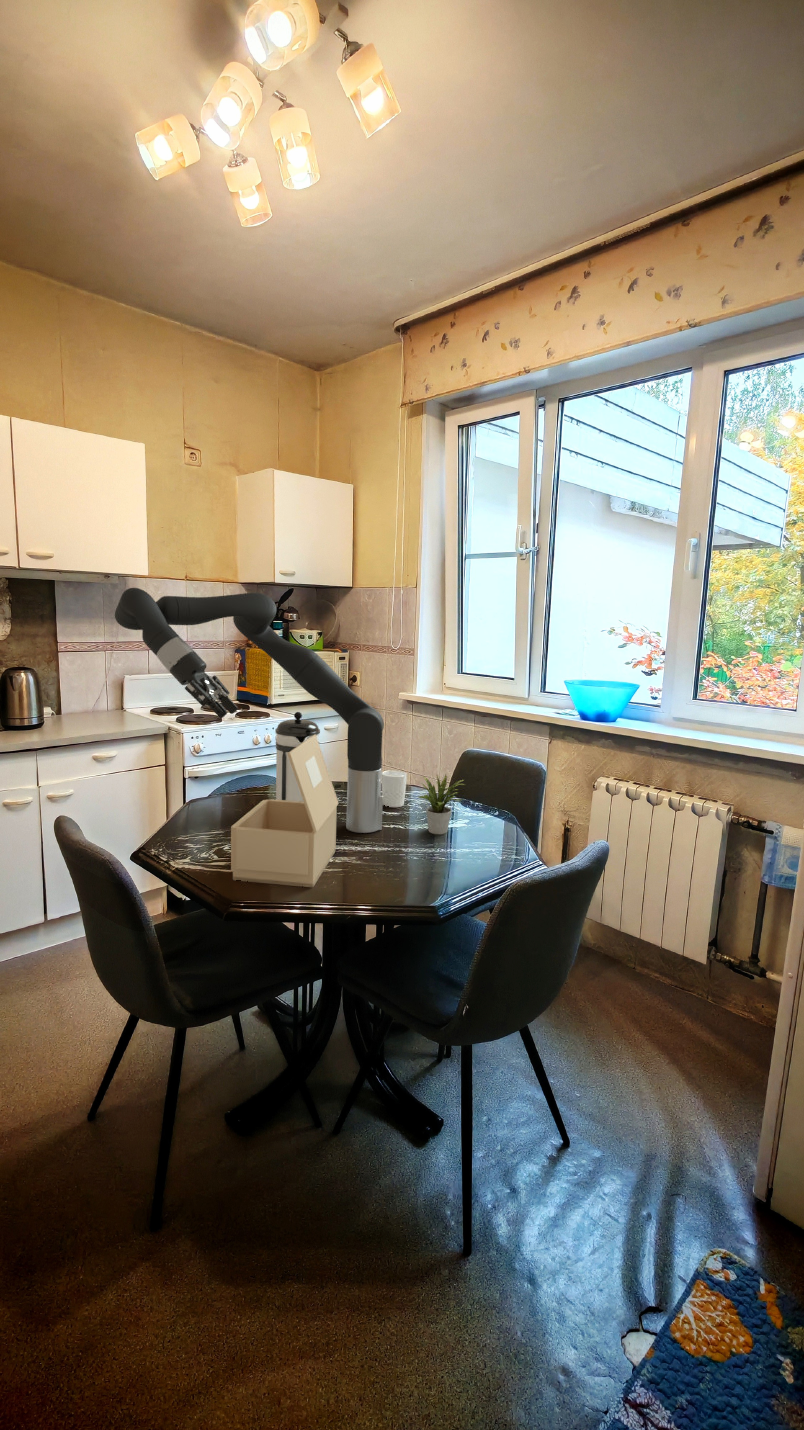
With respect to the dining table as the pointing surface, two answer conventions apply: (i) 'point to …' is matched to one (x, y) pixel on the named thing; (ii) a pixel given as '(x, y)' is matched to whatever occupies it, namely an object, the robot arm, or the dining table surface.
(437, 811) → the house plant
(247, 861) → the carton
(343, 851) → the dining table surface
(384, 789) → the white cup
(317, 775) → the lid flap
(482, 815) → the dining table surface
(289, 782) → the coffee press
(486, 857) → the dining table surface
